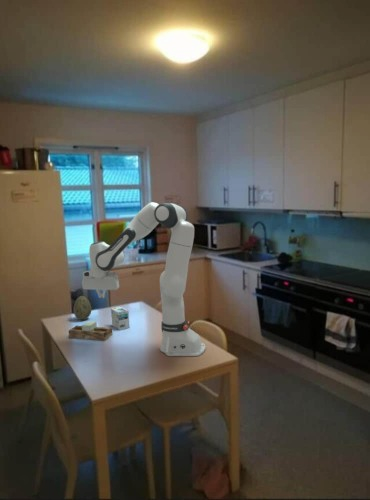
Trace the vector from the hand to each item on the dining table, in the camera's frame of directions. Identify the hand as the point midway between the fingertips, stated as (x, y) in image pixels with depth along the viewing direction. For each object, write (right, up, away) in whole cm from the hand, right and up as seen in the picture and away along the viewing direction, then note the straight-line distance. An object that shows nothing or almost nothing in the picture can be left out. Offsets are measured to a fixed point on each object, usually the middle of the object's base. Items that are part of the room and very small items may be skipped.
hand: (101, 297), depth 205 cm
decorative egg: (-19, -18, +34) cm, 43 cm away
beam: (-7, -22, +6) cm, 24 cm away
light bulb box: (+7, -20, +19) cm, 28 cm away
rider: (-8, -20, +5) cm, 22 cm away
